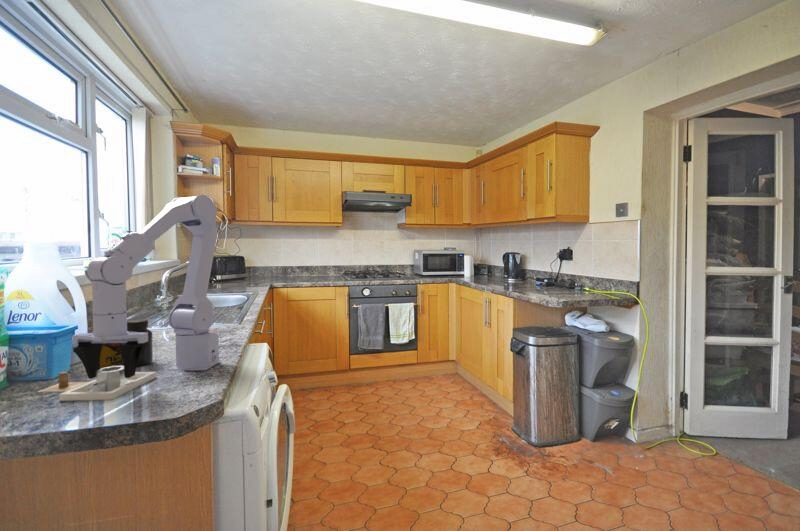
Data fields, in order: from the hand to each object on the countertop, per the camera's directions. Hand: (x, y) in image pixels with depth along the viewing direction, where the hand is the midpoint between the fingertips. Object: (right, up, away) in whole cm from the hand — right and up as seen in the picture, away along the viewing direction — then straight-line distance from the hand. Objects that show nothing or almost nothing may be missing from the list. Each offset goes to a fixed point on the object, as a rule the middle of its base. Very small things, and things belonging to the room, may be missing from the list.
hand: (111, 376), depth 81 cm
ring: (0, -2, 0) cm, 2 cm away
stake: (-12, -3, +1) cm, 12 cm away
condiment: (-16, -3, +19) cm, 25 cm away
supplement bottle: (-7, -3, +18) cm, 20 cm away
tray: (0, -3, 0) cm, 3 cm away
